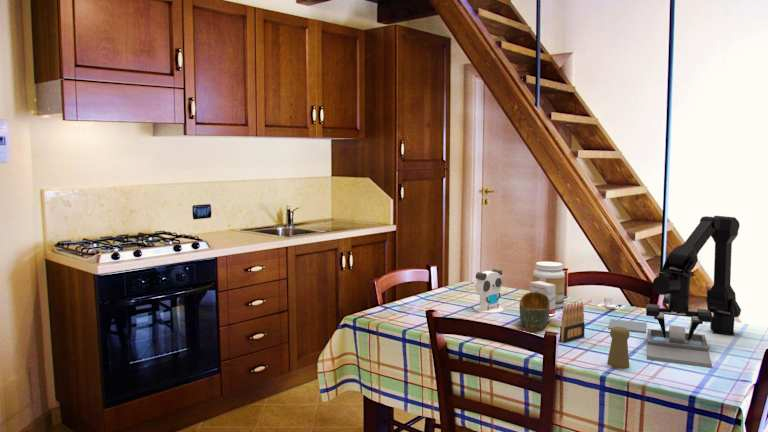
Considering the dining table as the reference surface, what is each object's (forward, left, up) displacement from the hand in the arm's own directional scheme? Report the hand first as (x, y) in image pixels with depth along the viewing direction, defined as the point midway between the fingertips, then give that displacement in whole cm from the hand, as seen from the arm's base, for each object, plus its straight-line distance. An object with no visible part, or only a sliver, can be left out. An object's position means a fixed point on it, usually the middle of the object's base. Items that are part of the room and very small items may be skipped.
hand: (676, 339), depth 200 cm
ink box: (+45, -19, -2) cm, 49 cm away
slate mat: (+15, -15, -2) cm, 21 cm away
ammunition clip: (+31, +9, -2) cm, 32 cm away
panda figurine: (+65, -17, -2) cm, 67 cm away
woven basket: (+45, -3, -2) cm, 45 cm away
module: (0, 0, -2) cm, 2 cm away
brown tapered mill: (+16, +29, -2) cm, 33 cm away
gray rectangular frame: (0, +6, -1) cm, 6 cm away
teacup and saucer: (+25, -40, -2) cm, 47 cm away
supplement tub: (+45, -33, -2) cm, 56 cm away
